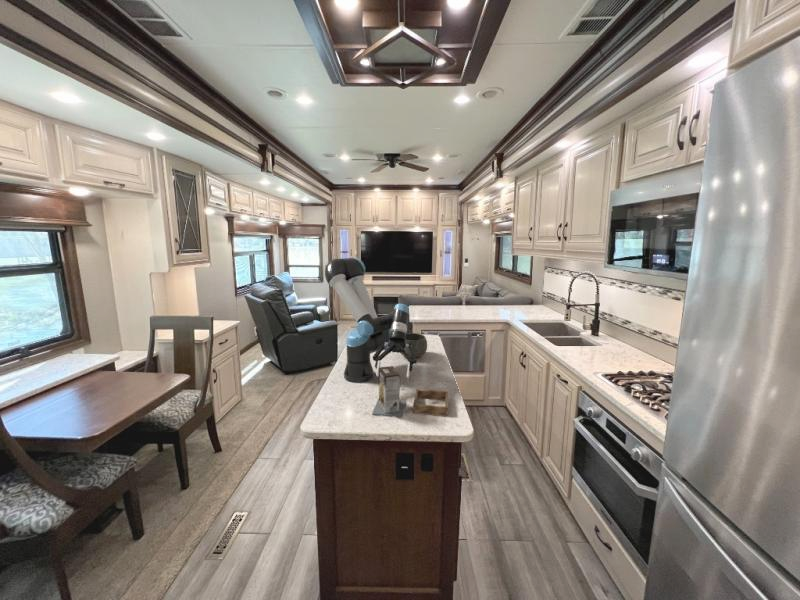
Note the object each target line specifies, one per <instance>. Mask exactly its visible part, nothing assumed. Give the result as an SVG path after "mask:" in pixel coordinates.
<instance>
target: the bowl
mask: <svg viewBox="0 0 800 600" xmlns="http://www.w3.org/2000/svg"><path fill="white" fill-rule="evenodd" d="M409 343H411V345H412V350H413V352H414V355H415V357H416V359H418V358H420V357H422V356H424V355H425V353H426V352H427V349H428V340H427V338H426V336H425V335H424V334H422V333H417V332H409V333H407V332H406V340H405V344H409ZM404 350H405V352H406V353H407V354H408V356H409V357H410V358H411V359H413V358H412V356H411V353H410V351H409V349H408V348H407V347H405V348H404ZM399 354H401V355H402V356H404V355H403V354H402V352H399Z"/></svg>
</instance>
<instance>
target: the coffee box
mask: <svg viewBox="0 0 800 600" xmlns="http://www.w3.org/2000/svg"><path fill="white" fill-rule="evenodd" d="M400 379H401V374H400V372H398V370H397V369H396V368H395V367H394V366H393V365H390V366H380V368H379V376H378V399H379V403H380V405H381V407H382V408H383V410H384V412H385V413H389V412H395V411H399V401H400V396H401V395H400V391H401V389H400V388H401V380H400Z"/></svg>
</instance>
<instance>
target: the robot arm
mask: <svg viewBox="0 0 800 600" xmlns="http://www.w3.org/2000/svg"><path fill="white" fill-rule="evenodd" d="M365 275H366V266H365V264H364V262H363V260H361V259H360V258H357V257H349V258H348V257H345V258H333V259H331V260H330V261H329V262H327V264H326V266H325V267H324V276H325V280H326V282H327V284H328V285H329V286H330V288H333V289H334V291H335V292H336V293H337V295H338V296H339V298H340V300H341V301H342V302H343V304H344V305H345V307H346V308H347V309H348V311H349V312H350V314H351V315H352V317H353V318H354V321H356V327H355V328H356V329H353V330H351V331H349V333H348V334H347V336H346V344H345V345H346V365H345V368H344V371H343V378H344V379H345V380H346V381H348V382H353V383H363V382H367V381H370V380H372V379H373V378H374V374H375V375H376V377H379V368H380V367H381V361H382V360H383V359H384V358H385V357H386V356H388V354H391V353H399V354H400V352H402V354H403V355H402V354H401V355H402V356H404V358H405V360H407V361H408V362H407V370H406V379H407V380H409V379H410V372H412V371H413V366H414V365H416V364H418V360H417V358H416V357H415V355H414V352H413V350H412V345H411V343H409V344H405V340H406V334H407V331H408V322H409V316H410V307H409V306H408V305H407V304H406V303H405V304H404V303H396V304H395V306H394V308H393V311H391V312H389V313H387V314H385V315H382V316H378V314H377V312H376V309H375V308H374V304H373V302H372V300H371V297H370V295H369V292H368V289H367V288H366V284H365V281H364V280H365ZM405 347H407V348H408V349H409V351H410V353H411V356H412V358H410V357H409V356H408V354H407V353H406V352H405V350H404V348H405ZM383 350H384V351H383ZM373 353H374V354H373ZM371 354H373V356H372V357H371ZM371 358H372V361H374V362H375V364H374V368H375V369H376V371H375V373H374V368H373V366H372V363H371Z"/></svg>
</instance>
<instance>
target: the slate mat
mask: <svg viewBox="0 0 800 600" xmlns="http://www.w3.org/2000/svg"><path fill="white" fill-rule="evenodd" d="M405 406H406V400H399V411H395V412H389V413H385V412H384V410H383V408H382V407H381V405H380V403H379V398H378V400H377V401H376V404H375V405H374V409H373V411H372V413H371V415H372V414H373V415H372V416H380V415H386V416H385V417H392V416H396V418H402V417H403V415H402V414H404V411H403V410H404V409H405Z"/></svg>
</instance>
